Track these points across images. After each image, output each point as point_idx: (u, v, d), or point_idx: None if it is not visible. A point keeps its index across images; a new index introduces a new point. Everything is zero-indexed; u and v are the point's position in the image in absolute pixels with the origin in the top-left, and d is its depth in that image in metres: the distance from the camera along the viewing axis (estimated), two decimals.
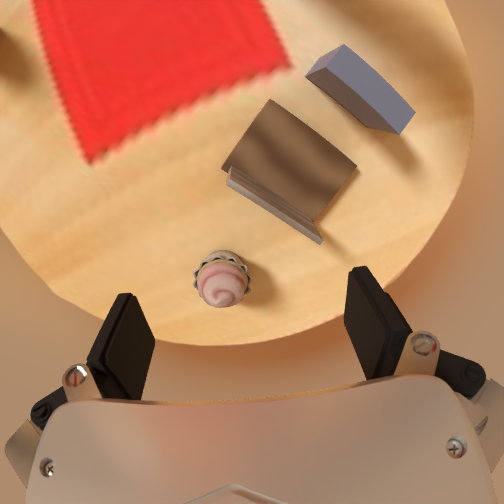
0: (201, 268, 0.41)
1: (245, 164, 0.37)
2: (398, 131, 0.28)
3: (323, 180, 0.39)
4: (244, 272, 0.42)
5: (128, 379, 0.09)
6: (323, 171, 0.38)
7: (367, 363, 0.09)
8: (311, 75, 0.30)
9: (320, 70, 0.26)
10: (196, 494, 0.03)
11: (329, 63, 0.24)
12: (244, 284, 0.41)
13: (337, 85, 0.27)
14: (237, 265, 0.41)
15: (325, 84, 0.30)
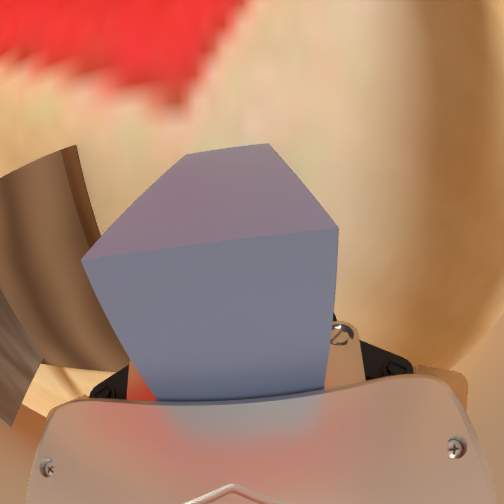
0: None
1: None
2: None
3: (79, 346, 0.17)
4: None
5: None
6: (84, 337, 0.16)
7: None
8: None
9: None
10: (196, 494, 0.03)
11: (118, 261, 0.04)
12: None
13: None
14: None
15: None
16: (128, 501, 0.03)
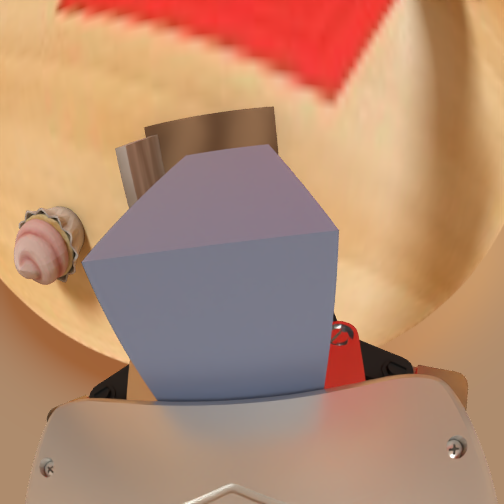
0: (36, 215, 0.22)
1: (172, 147, 0.24)
2: None
3: None
4: (71, 259, 0.25)
5: None
6: None
7: None
8: None
9: None
10: (196, 494, 0.03)
11: (119, 264, 0.04)
12: (61, 272, 0.24)
13: None
14: (69, 246, 0.24)
15: None
16: (128, 501, 0.03)
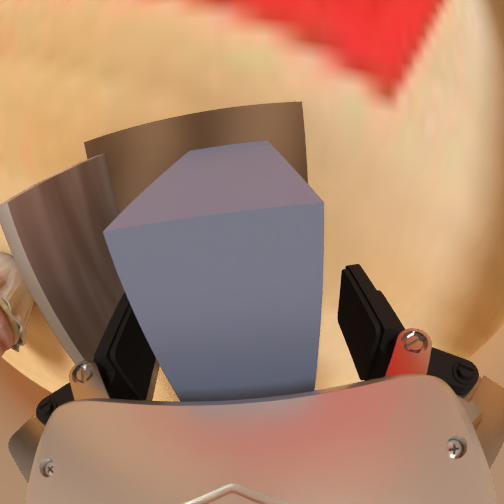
0: None
1: (128, 173, 0.14)
2: None
3: None
4: (16, 330, 0.15)
5: (135, 375, 0.09)
6: None
7: (360, 360, 0.09)
8: None
9: None
10: (196, 494, 0.03)
11: (137, 232, 0.05)
12: (6, 347, 0.14)
13: None
14: (10, 315, 0.14)
15: None
16: (128, 501, 0.03)
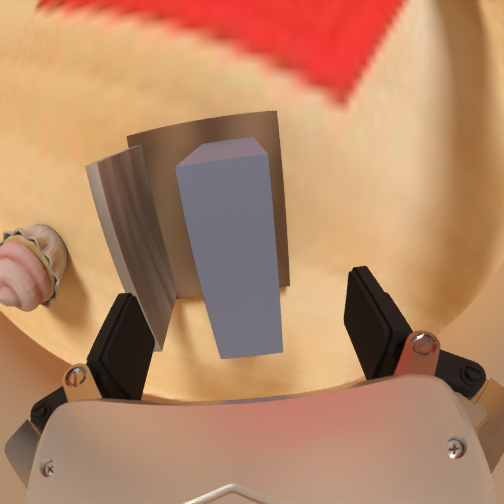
0: (13, 235, 0.19)
1: (158, 159, 0.20)
2: (222, 355, 0.17)
3: None
4: (53, 284, 0.22)
5: (128, 379, 0.09)
6: None
7: (367, 363, 0.09)
8: None
9: None
10: (196, 494, 0.03)
11: (191, 167, 0.11)
12: (42, 299, 0.21)
13: None
14: (49, 270, 0.21)
15: None
16: (128, 501, 0.03)
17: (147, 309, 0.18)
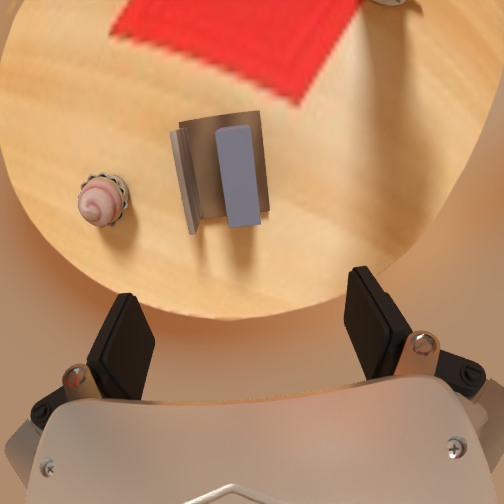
0: (97, 177, 0.37)
1: (196, 135, 0.38)
2: (230, 225, 0.35)
3: None
4: (122, 208, 0.39)
5: (128, 379, 0.09)
6: None
7: (367, 363, 0.09)
8: None
9: None
10: (196, 494, 0.03)
11: (221, 132, 0.29)
12: (114, 216, 0.38)
13: None
14: (122, 198, 0.39)
15: None
16: (128, 501, 0.03)
17: (190, 207, 0.36)
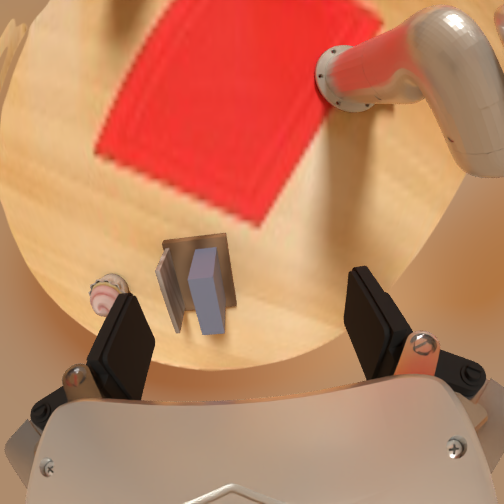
0: (103, 282, 0.49)
1: (176, 254, 0.51)
2: (203, 333, 0.47)
3: None
4: None
5: (128, 379, 0.09)
6: None
7: (367, 363, 0.09)
8: (193, 258, 0.48)
9: None
10: (196, 494, 0.03)
11: (192, 279, 0.42)
12: None
13: None
14: None
15: None
16: (128, 501, 0.03)
17: (175, 316, 0.49)
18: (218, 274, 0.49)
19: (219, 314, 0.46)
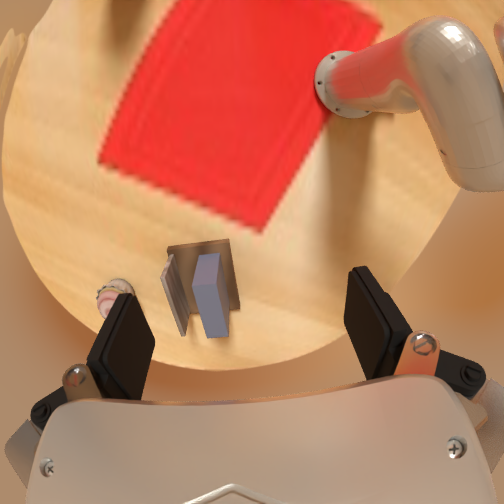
0: (109, 287, 0.51)
1: (181, 259, 0.53)
2: (207, 336, 0.49)
3: None
4: None
5: (128, 379, 0.09)
6: None
7: (367, 363, 0.09)
8: (197, 264, 0.50)
9: None
10: (196, 494, 0.03)
11: (196, 286, 0.43)
12: None
13: None
14: None
15: None
16: (128, 501, 0.03)
17: (180, 320, 0.50)
18: (221, 279, 0.51)
19: (223, 318, 0.47)
